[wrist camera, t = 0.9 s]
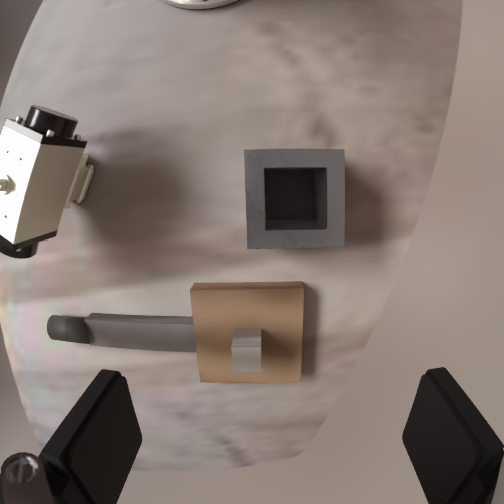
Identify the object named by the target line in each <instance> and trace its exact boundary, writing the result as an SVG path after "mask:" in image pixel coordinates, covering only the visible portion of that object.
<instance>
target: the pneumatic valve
mask: <svg viewBox="0 0 504 504" xmlns="http://www.w3.org/2000/svg"><path fill="white" fill-rule="evenodd" d="M77 123H78V120H77V119H75V118H73V117H70V116H68V115H65V114H63V113H60V112H57V111H54V110H51V109H47V108H44V107H40V106H36V105H32V106H31V107H30V110H29V112H28V115H27V118H26V120H23V117H20V116H17V118H16V120H13V119H6V122H5V125H4V128H3V131H2V134H1V137H0V252H1V253H3V254H5V255H7V256H10V257H13V258H20V259H24V258H30V257H32V256H34V255H35V254H36V252H37V249H38V244H39V242H40V241H48V239H49V238H52V237H55V236H56V233H57V230H58V226H59V223H60V219H61V216H62V212H63V209H64V208H70V207H71V204H72V201H73V200H76V201H77V203H80V202H81V200H84V198H85V195H86V192H87V189H88V187H89V184H90V181H91V178H92V176H93V173H94V168H93V167H94V166H93V165H90V164H89V165H88V166H86V165H85V164H86V161H87V159H88V156H87V155H85V154H83V152H84V149H85V147H86V144H87V141H85V140H83V139H81V137H82V136H81V135H78V134H76V135H75V136H74V135H73V133H74V131H75V128H76V126H77Z"/></svg>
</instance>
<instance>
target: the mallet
mask: <svg viewBox="0 0 504 504" xmlns="http://www.w3.org/2000/svg"><path fill="white" fill-rule="evenodd" d="M190 294H191V304H192V314H193V317H178V316H142V315H118V314H99V313H92V314H90V315H89V316H88V317H87V318H82V317H69V316H58V315H52V316H51V317H50V318H49V320H48V323H47V332H48V335H49V337H50V338H51V339H53V340H60V341H68V342H76V343H85V344H90V345H95V346H105V347H116V348H128V349H142V350H158V351H178V352H197V358H198V366H199V373H200V381H201V382H210V383H283V382H301V363H302V339H303V306H304V287H303V284H302V281H294V282H245V283H194V285H193V286H192V288H191V289H190Z"/></svg>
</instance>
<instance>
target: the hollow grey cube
mask: <svg viewBox="0 0 504 504" xmlns="http://www.w3.org/2000/svg"><path fill="white" fill-rule="evenodd" d="M244 157H245V188H246V218H247V247H248V249H274V248H323V247H344V245H345V157H344V149H256V150H244ZM275 169H314V175H315V219H268V220H266V217H265V180H264V170H275Z"/></svg>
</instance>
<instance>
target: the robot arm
mask: <svg viewBox="0 0 504 504" xmlns="http://www.w3.org/2000/svg"><path fill="white" fill-rule="evenodd" d="M162 1H164V2H165V3H167V4H170V5H173V6H175V7H180V8H185V9H207V8H214V7H219V6H223V5H226V4H229V3H232V2H235V1H237V0H162ZM402 437H403V438H402V439H403V443H404V446H405V448H406V450H407V453H408V455H409V457H410V460H411V462H412V464H413V467H414V469H415V471H416V474H417V476H418V479H419V481H420V483H421V486H422V488H423V491H424V493H425V496H426V498H427V501H428V503H429V504H504V450H503V448H504V445H503V443H502V442H501V441H500V439H499V438H498V436H497V435H496V434H495V432H494V431H493V429H492V428H491V427H490V425H489V424H488V423H487V421H486V420H485V419H484V417H483V416H482V415H481V413H480V412H479V410H478V409H477V408H476V406H475V405H474V404H473V402H472V401H471V400H470V399H469V397H468V396H467V395H466V393H465V392H464V391H463V390H462V388H461V387H460V386H459V385H458V383H457V382H456V381H455V379H454V378H453V377H452V375H451V374H450V373H449V372H448V370H447V369H446V368H444V367H441V368H435V369H429V370H427V372H426V374H424V375H423V376H422V377H421V380H420V383H419V387H418V390H417V393H416V396H415V399H414V402H413V405H412V408H411V412H410V414H409V417H408V420H407V423H406V426H405V428H404V431H403V435H402ZM141 443H142V434H141V431H140V427H139V424H138V421H137V417H136V414H135V410H134V407H133V403H132V400H131V396H130V392H129V388H128V384H127V380H126V378H125V377H124V376H122V375H121V373H120V372H118V371H112V370H105V369H103V370H101V371H100V372H99V373H98V375H97V376H96V377H95V379H94V380H93V381H92V382H91V384H90V385H89V386H88V388H87V389H86V390H85V392H84V393H83V394H82V396H81V397H80V398H79V400H78V401H77V403H76V404H75V405H74V407H73V408H72V409H71V411H70V412H69V413H68V415H67V416H66V417H65V419H64V420H63V422H62V423H61V424H60V426H59V427H58V429H57V430H56V431H55V433H54V434H53V435H52V437H51V438H50V440H49V441H48V443H47V444H46V445H45V447H44V448H43V450H42V451H41V453H40V455H39V456H38V457H37V456H36V455H34V454H32V453H27V452H20V453H16V454H13V455H11V456H10V457H8V458H7V459H6V460H5V461H4V462H3V464H2V466H1V474H0V504H116V503H117V501H118V499H119V496H120V494H121V491H122V489H123V486H124V484H125V482H126V479H127V477H128V474H129V472H130V470H131V467H132V465H133V462H134V460H135V458H136V455H137V453H138V451H139V448H140V446H141Z"/></svg>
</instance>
